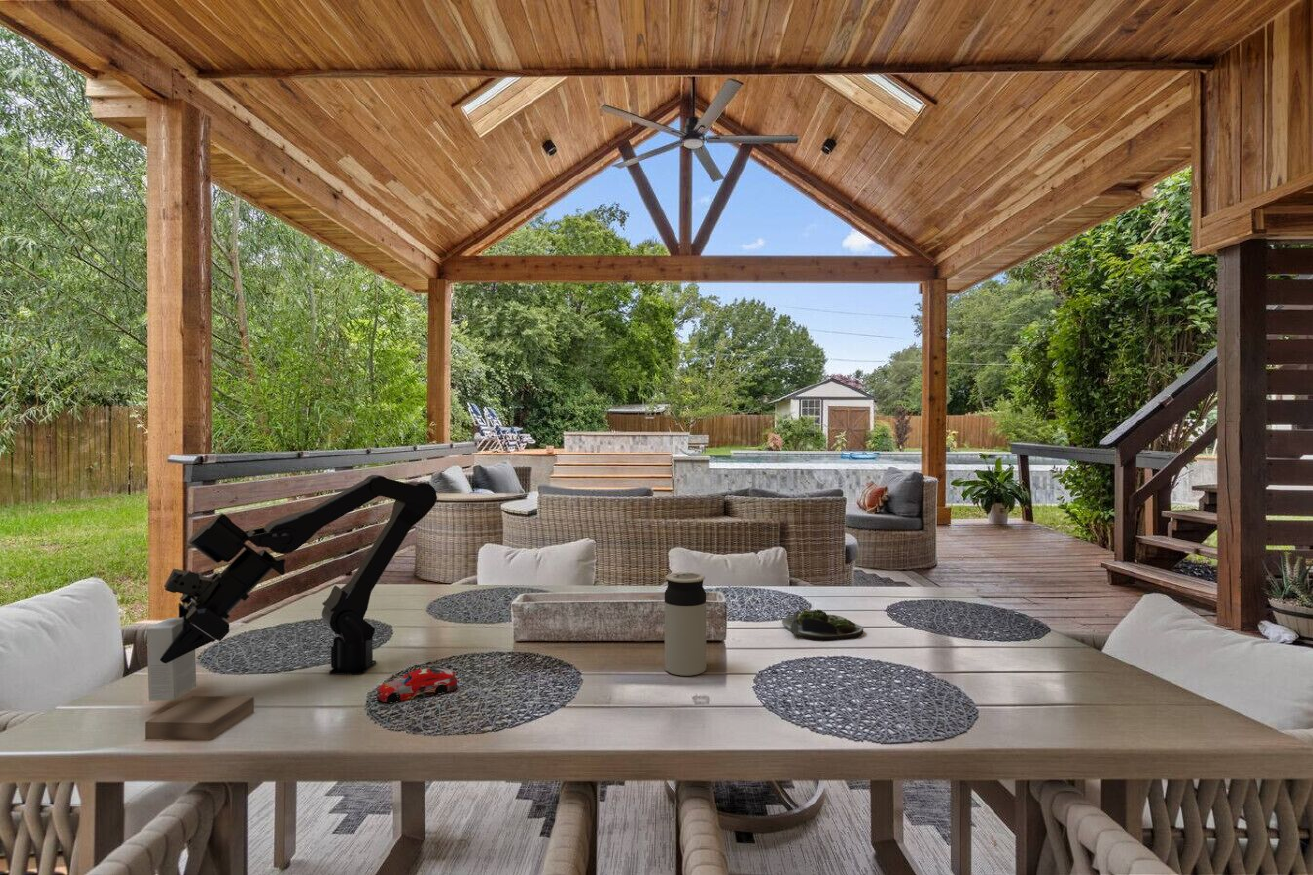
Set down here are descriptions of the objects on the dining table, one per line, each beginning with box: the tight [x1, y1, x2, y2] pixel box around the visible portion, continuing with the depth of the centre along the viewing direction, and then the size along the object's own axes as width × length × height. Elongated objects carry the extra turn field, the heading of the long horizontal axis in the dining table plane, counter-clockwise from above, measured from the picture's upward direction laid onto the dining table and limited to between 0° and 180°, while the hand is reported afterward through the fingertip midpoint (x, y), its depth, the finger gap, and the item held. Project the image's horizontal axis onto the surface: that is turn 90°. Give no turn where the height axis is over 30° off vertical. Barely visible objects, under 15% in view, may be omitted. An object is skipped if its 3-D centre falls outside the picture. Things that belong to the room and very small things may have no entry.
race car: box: [376, 667, 459, 704], centre depth 117 cm, size 13×5×4 cm, turn 117°
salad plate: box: [781, 608, 864, 642], centre depth 156 cm, size 19×18×5 cm
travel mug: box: [664, 571, 707, 677], centre depth 128 cm, size 8×8×18 cm
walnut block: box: [144, 695, 255, 741], centre depth 104 cm, size 10×10×3 cm
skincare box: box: [146, 617, 197, 702], centre depth 111 cm, size 6×4×12 cm
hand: (161, 655), depth 111 cm, fingers closed on skincare box, 7 cm apart
